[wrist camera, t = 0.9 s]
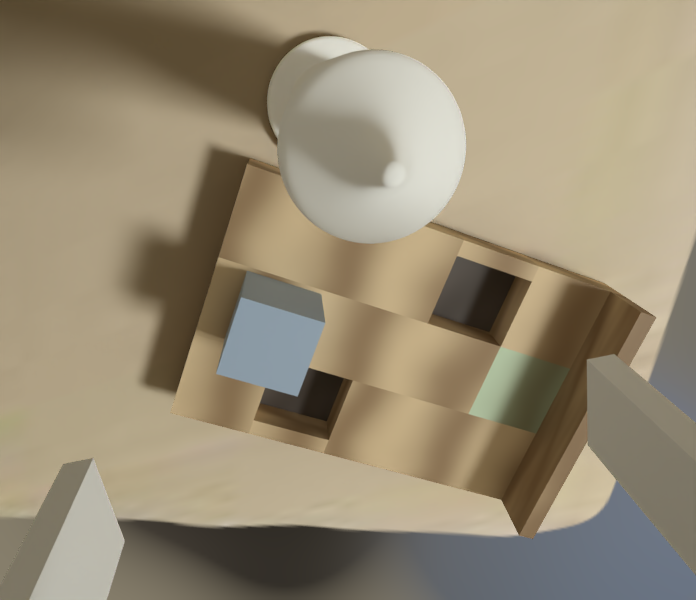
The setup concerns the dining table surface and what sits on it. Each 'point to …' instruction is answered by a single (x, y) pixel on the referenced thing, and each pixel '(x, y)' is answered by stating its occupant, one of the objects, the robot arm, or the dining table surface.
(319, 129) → the candle
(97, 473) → the robot arm
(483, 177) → the dining table surface
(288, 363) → the block
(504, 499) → the board
